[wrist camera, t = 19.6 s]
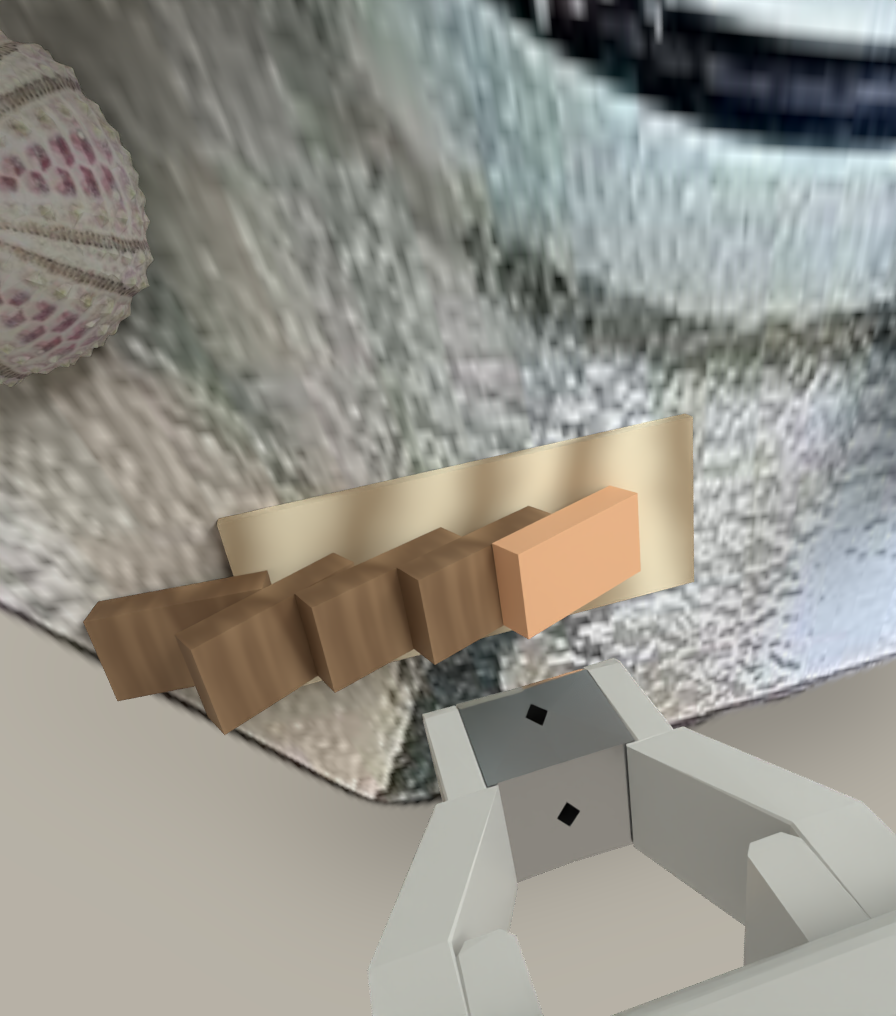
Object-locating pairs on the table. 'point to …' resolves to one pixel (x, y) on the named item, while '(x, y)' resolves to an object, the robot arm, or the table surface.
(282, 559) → the birch board
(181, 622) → the domino
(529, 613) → the domino
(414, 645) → the domino
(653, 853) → the robot arm
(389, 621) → the domino
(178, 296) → the table surface
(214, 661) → the domino
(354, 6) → the table surface
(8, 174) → the sea urchin shell
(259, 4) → the table surface
